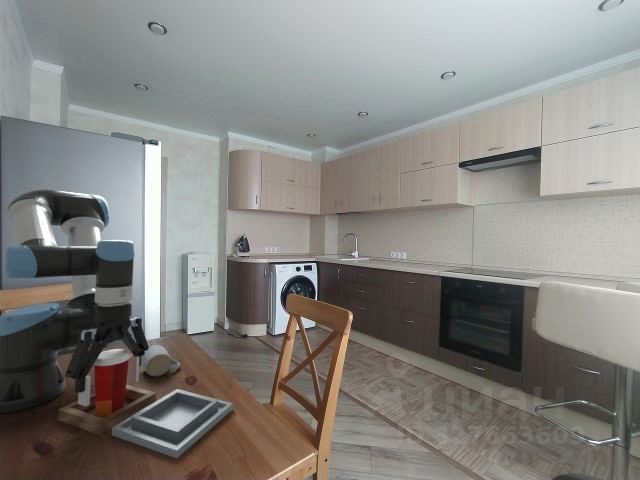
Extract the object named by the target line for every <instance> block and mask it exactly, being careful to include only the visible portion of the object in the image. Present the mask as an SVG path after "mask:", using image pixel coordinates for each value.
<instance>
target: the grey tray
mask: <svg viewBox="0 0 640 480" xmlns="http://www.w3.org/2000/svg"><path fill="white" fill-rule="evenodd" d="M233 406H234V404H233V402H230V401H225V400H221V399H218V398H215V397H209V396H206V395H202V394H199V393H195V392H190V391H187V390H183V389H179V388H177V389H174V390H173V391H171V392H169V393H168V394H166V395H164V396H163V397H161V398H159V399H158V400H156V402H154V403H153V404H151V405H149V406H148V407H146V408H144V409H142V410H141V411H139V412H137V413H136V414H134V415H132V416H131V417H129V418H127V419H126V420H124V421H122V422H121V423H119V424H117V425H115V426H114V427H112V429H111V436H114V437H115V438H119V439H122V440H124V441H127V442H129V441H130V443H132V442H133V444H135V445H138V446H140V447H144V448H146V449H149V450H152V451H155V452H156V453H157V452H158V453H160V454H162V455H163V454H164V455H165V456H168V457H172V458H174V459H179V457H180V456H182V455H183V454H184V453H185V452H186V451H187V450H189V448H190V447H192V446H193V445H195V443H196V442H197V441H199V440H200V439H201V438H202V437H203V436H204V435H206V434H207V433H208V432H209V431H210V430H211V429H213V427H215V426H216V425H217V424H218V423H220V421H222V419H224V418H225V417H226V416H227V415H228V414H229V413H230V412H232V411H233V409H234V408H233Z"/></svg>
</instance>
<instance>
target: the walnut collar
mask: <svg viewBox="0 0 640 480" xmlns="http://www.w3.org/2000/svg"><path fill="white" fill-rule="evenodd" d="M125 399H129V400H131V401H132V402H130V403H129V404H127V405H124V407H123V408H121V409H119V410H117V411H116V412H114V413H112V414H110V415H108V416H106V417H98V416H97V415H94V414H91V413H88V412H85V411H86V410H88V409H91V408H92V407H96V406H95V392H93V393H90V405H88V406H83V405H80V404H78V399H77V400H76V401H72V402H71V403H68V404H67V405H64V406H62V407H59V408H58V413H57V421H60V422H61V423H62V422H63V423H65V424H68V425H70V426H74V427H75V428H79V429H81V430H84V431H87V432H90V433H92V434H95V435H98V436H103V435H104V434H105V433H107V432H109V431H111V430H112V427H114V426H115V425H117V424H119V423H121V422H122V421H124V420H126V419H127V418H129V417H131V416H132V415H134V414H136V413H137V412H139V411H141V410H142V409H144V408H146V407H148V406H149V405H151V404H153V403H154V402H156V401H157V392H154V391H151V390H147V389H144V388H140V387H137V386H133V385H129V384H126V393H125Z"/></svg>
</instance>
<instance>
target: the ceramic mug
mask: <svg viewBox="0 0 640 480" xmlns="http://www.w3.org/2000/svg"><path fill="white" fill-rule="evenodd" d="M144 352H145V355H144V356H141V367H143V369H144V370H145V372H146V373H147V374H148V375H149V376H151V377H156V378H157V377H161V376H163V375H165V374H166V373H167V372H168V371H169V370H173V371H176V370H179V368H180V366H181V363H180V362H179V361H177V360H176V359H173V358H171V356H170V354H169V352H168V351H167V349H166V348H165V347H164V346H163V345H160V344H155V345H150V346H149V349H148V350H147V351H144Z"/></svg>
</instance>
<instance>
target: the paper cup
mask: <svg viewBox="0 0 640 480" xmlns="http://www.w3.org/2000/svg"><path fill="white" fill-rule="evenodd" d="M131 355H132V354H130V352H129V350H128V349H125V348H114V349H108V350H104V351H103V350H102V351H101V353H100V355H99V356H98V358H97V360H96V361H95V363H94V364H93V371H94V373H93V374H94V375H93V377H94V393H95V406H94V407H95V414H96V415H95V416H97V417H100V418H105V417H106V416H108V415H110V414H112V413H114V412H116V411H117V410H119V409H121V408H123V407H125V402H126V401H125V400H126V398H125V393H126V385H128V384H127V382H128V375H129V359H130V357H131Z"/></svg>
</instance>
